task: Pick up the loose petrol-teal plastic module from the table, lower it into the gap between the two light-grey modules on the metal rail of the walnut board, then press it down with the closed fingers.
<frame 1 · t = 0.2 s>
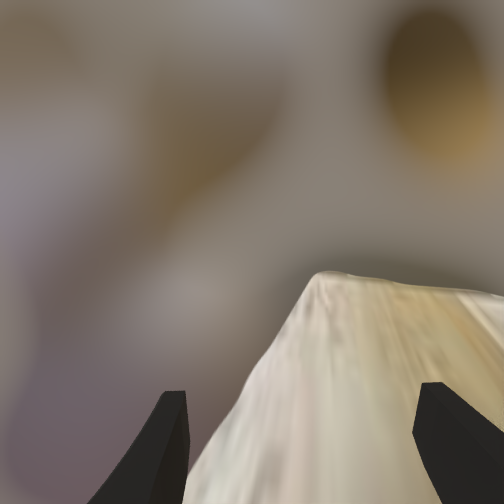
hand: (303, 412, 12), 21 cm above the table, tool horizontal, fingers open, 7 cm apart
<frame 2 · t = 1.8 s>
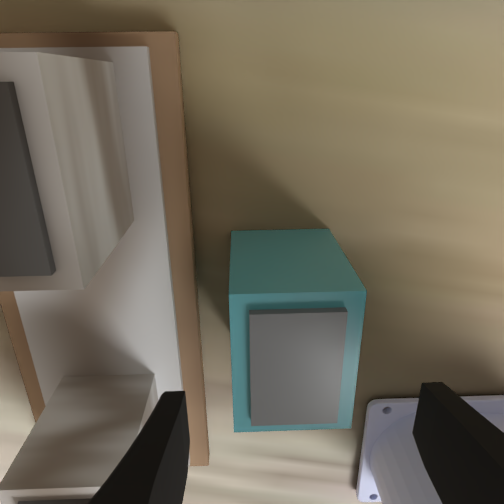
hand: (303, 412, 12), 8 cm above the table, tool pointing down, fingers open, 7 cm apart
module: (279, 286, 20), on the table
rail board: (103, 292, 20), on the table
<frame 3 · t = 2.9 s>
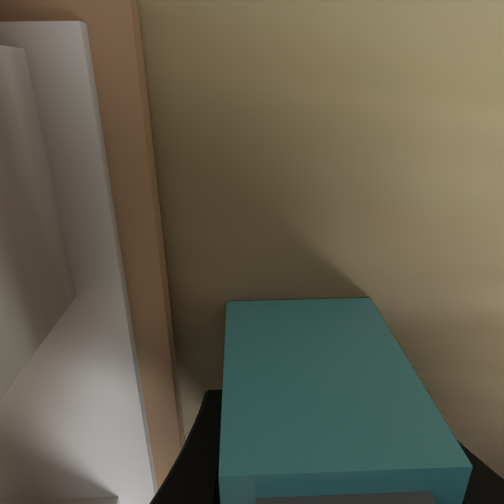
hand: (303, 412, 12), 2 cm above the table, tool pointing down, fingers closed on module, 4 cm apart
module: (295, 376, 14), on the table, touching gripper
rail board: (43, 384, 14), on the table
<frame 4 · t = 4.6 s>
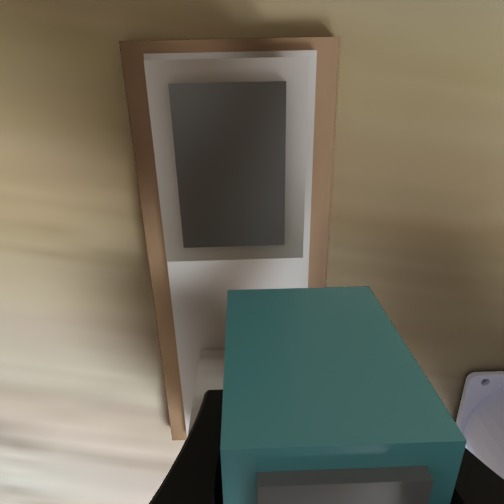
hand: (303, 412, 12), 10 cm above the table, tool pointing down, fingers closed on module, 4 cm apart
module: (295, 364, 14), point 8 cm above the table, touching gripper
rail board: (239, 272, 22), on the table
when the fingers open (4 cm above the table, at t = 6.3 s): module drops 1 cm, resting on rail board.
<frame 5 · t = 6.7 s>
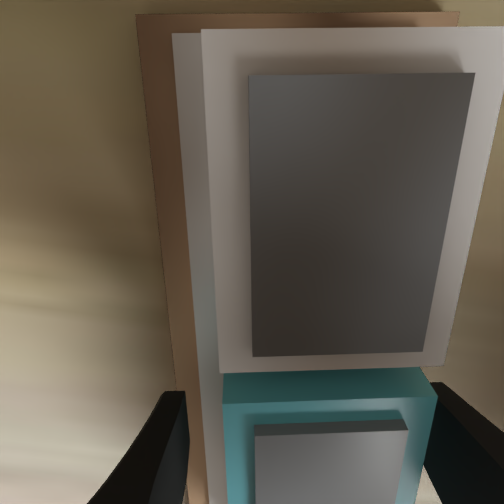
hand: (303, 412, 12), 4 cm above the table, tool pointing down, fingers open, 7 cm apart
module: (291, 344, 15), point 1 cm above the table, touching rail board
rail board: (287, 330, 16), on the table
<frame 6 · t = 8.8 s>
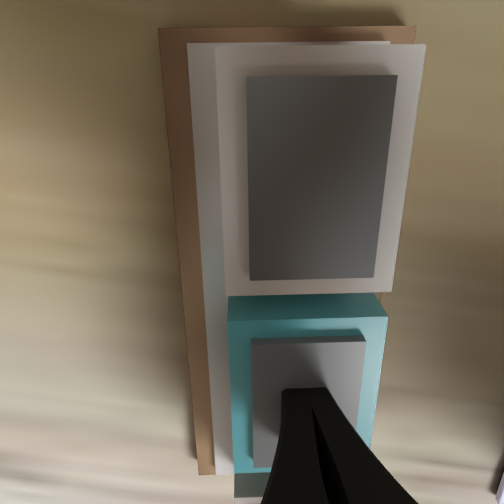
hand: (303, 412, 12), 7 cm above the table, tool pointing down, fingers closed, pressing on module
module: (284, 302, 18), point 1 cm above the table, touching gripper, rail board
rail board: (280, 293, 19), on the table
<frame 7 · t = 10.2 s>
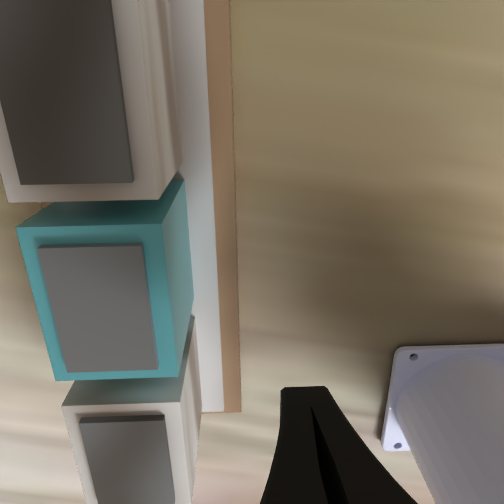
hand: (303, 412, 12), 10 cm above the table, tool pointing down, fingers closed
module: (142, 242, 19), point 1 cm above the table, touching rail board
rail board: (147, 237, 20), on the table
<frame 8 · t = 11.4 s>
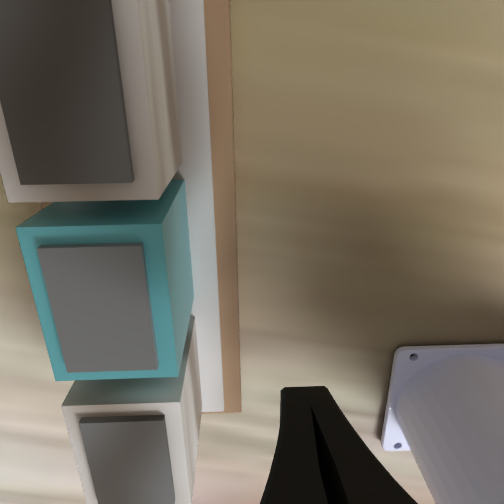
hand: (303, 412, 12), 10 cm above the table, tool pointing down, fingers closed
module: (142, 242, 19), point 1 cm above the table, touching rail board
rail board: (147, 237, 20), on the table
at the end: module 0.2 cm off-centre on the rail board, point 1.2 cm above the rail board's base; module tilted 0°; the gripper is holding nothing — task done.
